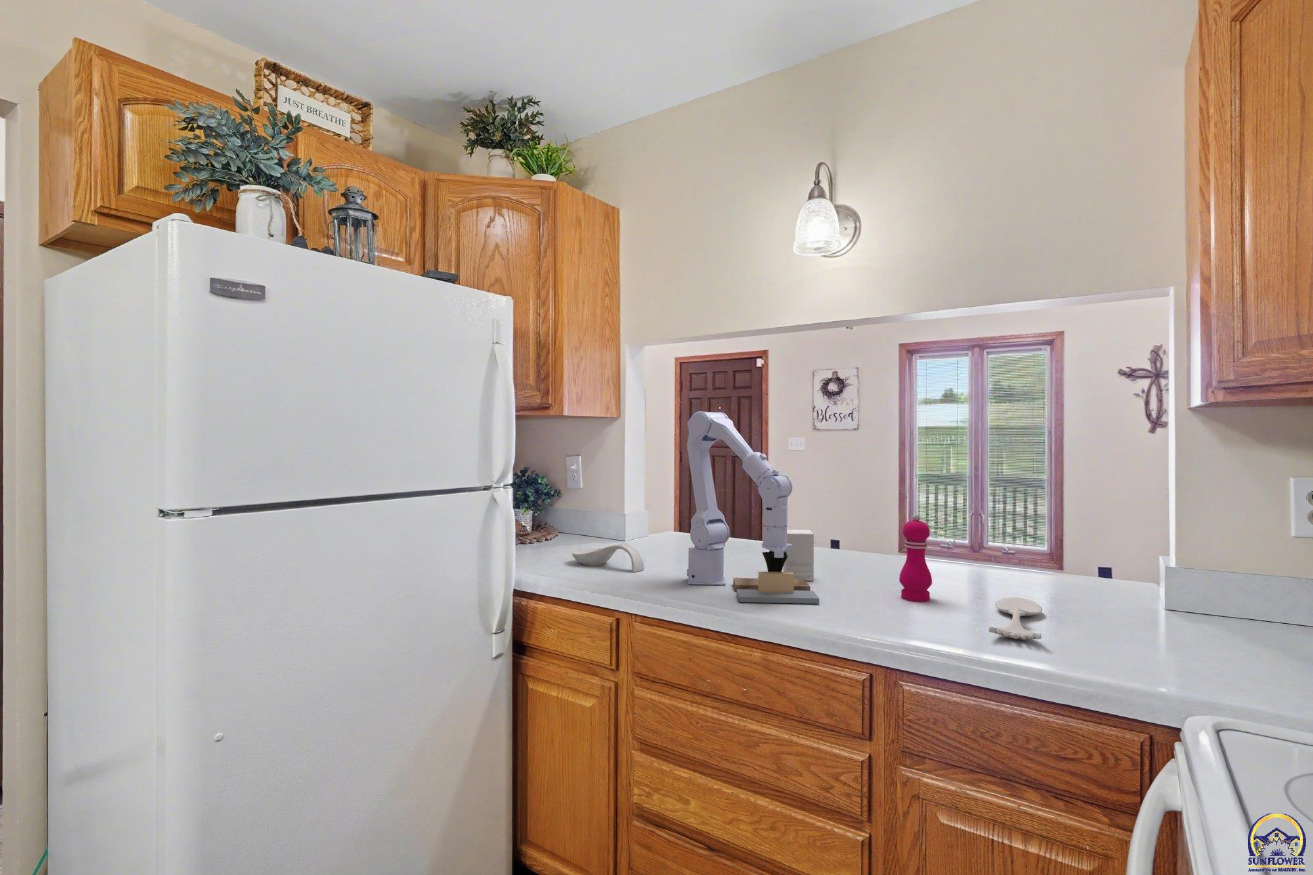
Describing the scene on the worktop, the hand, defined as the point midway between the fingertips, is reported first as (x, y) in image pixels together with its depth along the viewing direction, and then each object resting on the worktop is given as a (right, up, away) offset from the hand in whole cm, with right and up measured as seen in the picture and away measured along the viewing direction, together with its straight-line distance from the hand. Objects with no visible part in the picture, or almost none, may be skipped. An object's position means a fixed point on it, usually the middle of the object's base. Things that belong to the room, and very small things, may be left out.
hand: (774, 582), depth 156 cm
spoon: (+45, -4, -23) cm, 51 cm away
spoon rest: (-42, -3, +33) cm, 53 cm away
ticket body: (0, -3, +6) cm, 7 cm away
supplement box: (+10, -3, +19) cm, 21 cm away
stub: (0, -3, -5) cm, 5 cm away
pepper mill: (+33, -4, -2) cm, 33 cm away
